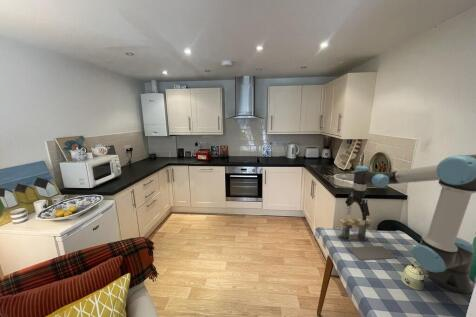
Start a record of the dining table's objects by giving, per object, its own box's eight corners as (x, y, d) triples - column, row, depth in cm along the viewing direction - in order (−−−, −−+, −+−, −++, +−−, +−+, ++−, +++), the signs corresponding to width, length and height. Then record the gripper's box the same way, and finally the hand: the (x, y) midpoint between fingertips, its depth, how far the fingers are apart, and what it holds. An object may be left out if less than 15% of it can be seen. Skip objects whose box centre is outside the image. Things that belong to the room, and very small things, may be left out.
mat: (382, 246, 124) (382, 245, 124) (398, 258, 114) (398, 257, 114) (347, 248, 122) (347, 247, 122) (360, 260, 111) (360, 259, 111)
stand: (361, 234, 138) (363, 220, 136) (368, 239, 132) (370, 225, 130) (338, 235, 136) (340, 221, 135) (344, 241, 130) (346, 226, 128)
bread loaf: (366, 223, 136) (366, 218, 135) (370, 226, 132) (371, 221, 131) (339, 224, 133) (339, 219, 133) (342, 227, 130) (343, 222, 129)
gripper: (341, 183, 140) (338, 211, 144) (368, 196, 116) (363, 229, 119) (351, 183, 141) (348, 210, 145) (379, 196, 117) (374, 228, 120)
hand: (355, 219), depth 132 cm, fingers open, 13 cm apart
